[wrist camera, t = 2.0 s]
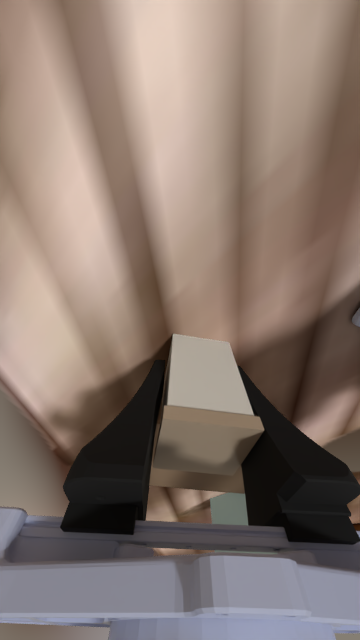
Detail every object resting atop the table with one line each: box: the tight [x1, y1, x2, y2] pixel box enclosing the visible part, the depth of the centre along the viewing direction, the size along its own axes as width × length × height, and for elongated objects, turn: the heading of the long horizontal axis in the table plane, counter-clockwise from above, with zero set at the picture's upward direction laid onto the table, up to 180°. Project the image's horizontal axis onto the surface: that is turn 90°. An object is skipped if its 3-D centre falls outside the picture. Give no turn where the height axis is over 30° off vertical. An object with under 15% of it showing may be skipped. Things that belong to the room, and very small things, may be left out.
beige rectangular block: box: [153, 334, 264, 476], centre depth 12 cm, size 4×4×6 cm
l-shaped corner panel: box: [210, 493, 277, 554], centre depth 25 cm, size 12×12×8 cm
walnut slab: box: [149, 395, 245, 494], centre depth 19 cm, size 11×11×3 cm
